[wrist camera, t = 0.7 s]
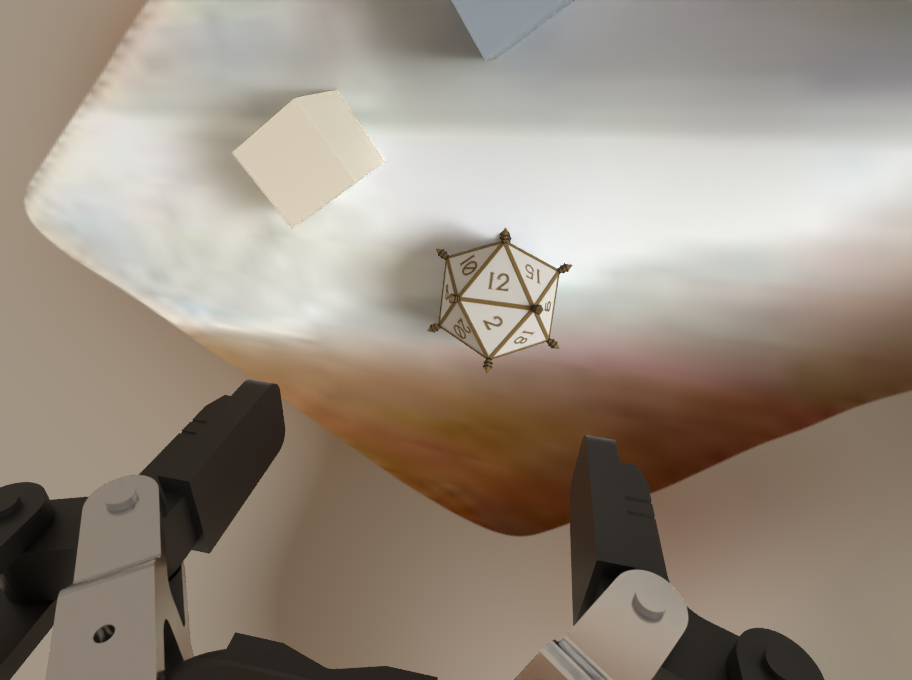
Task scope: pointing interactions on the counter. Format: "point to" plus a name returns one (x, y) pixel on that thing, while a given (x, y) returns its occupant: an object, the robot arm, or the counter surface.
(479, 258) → the game die
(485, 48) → the slate block
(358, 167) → the cream block
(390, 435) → the counter surface
